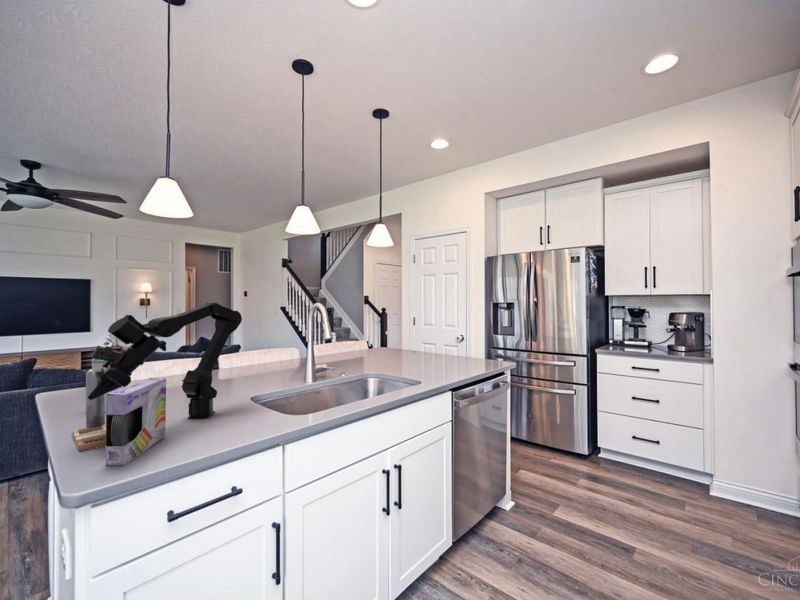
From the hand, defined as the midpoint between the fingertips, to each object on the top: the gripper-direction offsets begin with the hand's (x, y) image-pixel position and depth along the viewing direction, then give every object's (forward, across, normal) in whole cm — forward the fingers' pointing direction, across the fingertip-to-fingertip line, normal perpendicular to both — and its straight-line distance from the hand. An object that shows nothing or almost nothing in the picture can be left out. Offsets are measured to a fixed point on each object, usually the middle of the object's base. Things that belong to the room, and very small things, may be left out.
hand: (89, 397), depth 100 cm
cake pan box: (+3, +14, +16) cm, 22 cm away
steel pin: (+5, 0, +7) cm, 8 cm away
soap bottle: (+6, -40, +13) cm, 42 cm away
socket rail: (+9, -5, +10) cm, 14 cm away
